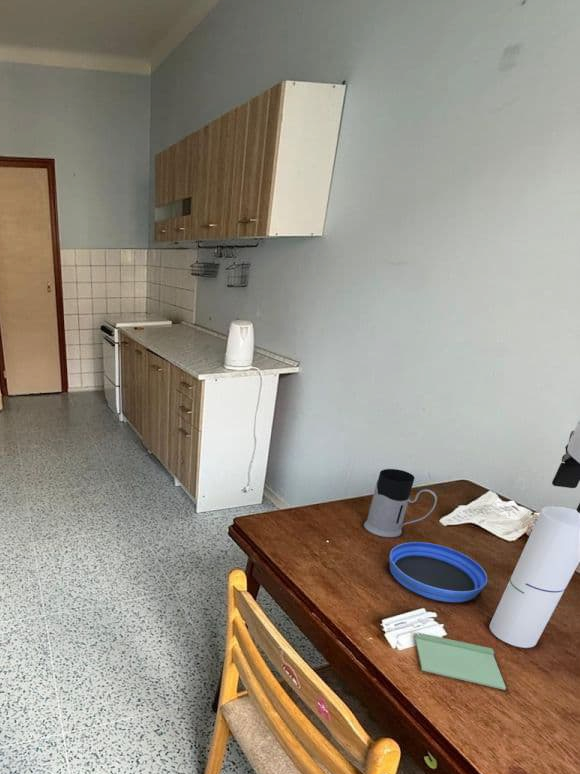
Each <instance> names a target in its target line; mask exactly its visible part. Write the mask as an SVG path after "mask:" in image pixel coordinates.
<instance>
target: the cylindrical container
mask: <svg viewBox="0 0 580 774" xmlns="http://www.w3.org/2000/svg"><path fill="white" fill-rule="evenodd" d="M579 564H580V513H578V512H577V509H574V508H569V507H564V506H556V505H555V506H553V505H552V506H551V505H550V506H545V507H542V508H541V510H540V512H539V514H538V516H537V519H536V521H535V523H534V526H533V528H532V530H531V532H530V535H529V537H528V538H527V541H526V543H525V545H524V547H523V549H522V552H521V554H520V556H519V559H518V561H517V562H516V565H515V567H514V570H513V572H512V574H511V576H510V578H509V580H508V583H507V585H506V588H505V590H504V592H503V593H502V596H501V599H500V601H499V603H498V605H497V607H496V610H495V612H494V614H493V616H492V619H491V621H490V623H489V626H488V627H489V630H490V632H491V633H492V634H493V635H494V636H495V637H496V638H498V639H499V640H501V641H502V642H504V643H506V644H508V645H511V646H513V647H518V648H523V649H528V648H533V647H535V646H536V645H537V643H538V641H539V640H540V638H541V636H542V634H543V632H544V631H545V628H546V627H547V624H548V622H549V621H550V619H551V617H552V615H553V613H554V612H555V609H556V608H557V605H558V604H559V602H560V600H561V598H562V596H563V595H564V592H565V591H566V589H567V586H568V585H569V583H570V582H571V579H572V577H573V575H574V573H575V572H576V570H577V567H578V566H579Z"/></svg>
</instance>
